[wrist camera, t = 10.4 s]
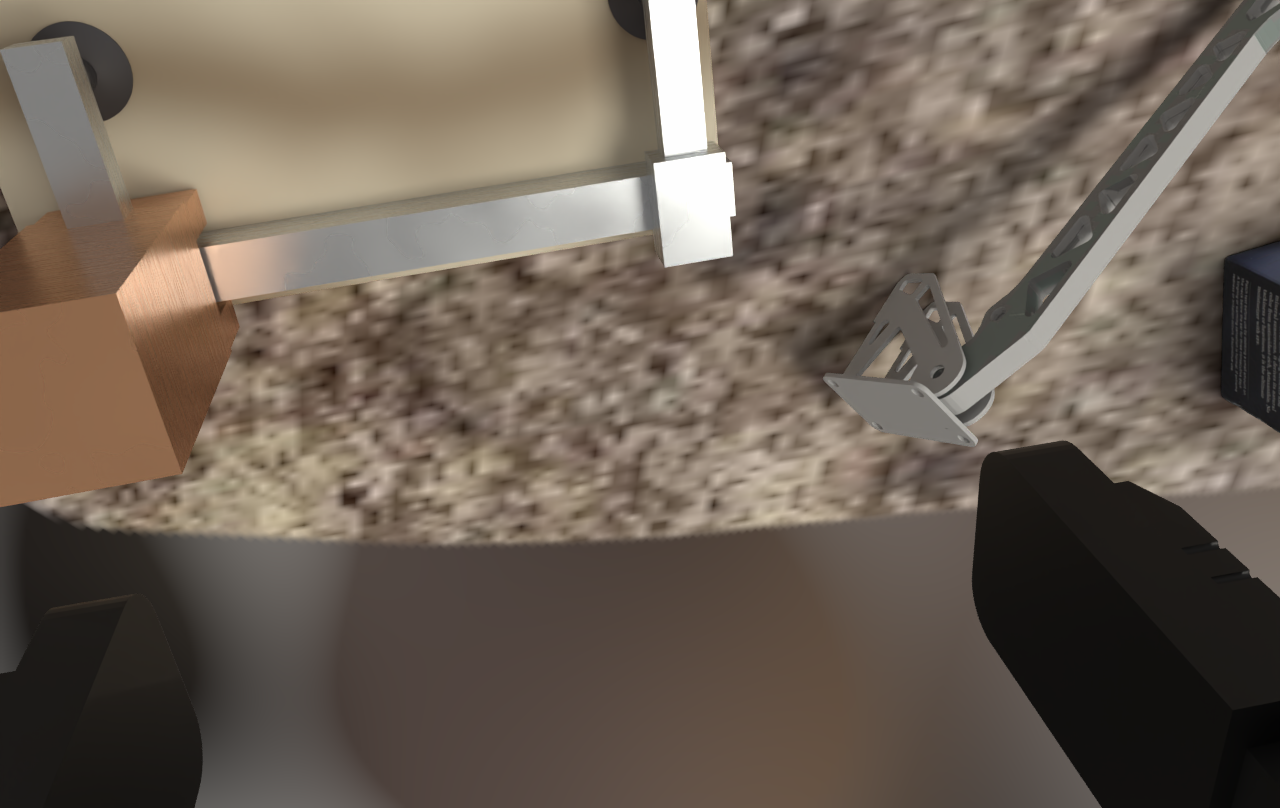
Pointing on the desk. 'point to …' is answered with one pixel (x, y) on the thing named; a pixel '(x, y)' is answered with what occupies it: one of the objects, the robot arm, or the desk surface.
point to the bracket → (1044, 263)
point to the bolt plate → (345, 100)
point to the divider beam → (515, 201)
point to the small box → (1252, 333)
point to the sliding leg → (99, 306)
